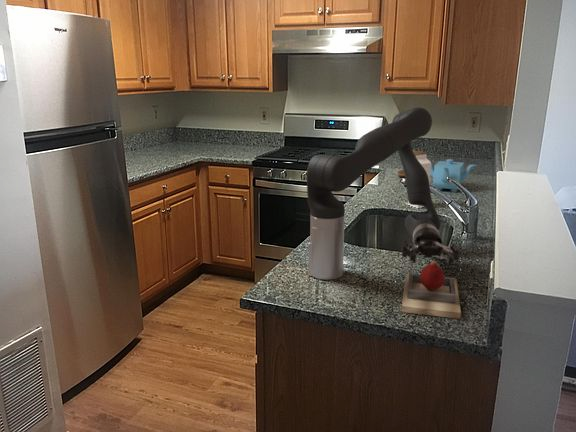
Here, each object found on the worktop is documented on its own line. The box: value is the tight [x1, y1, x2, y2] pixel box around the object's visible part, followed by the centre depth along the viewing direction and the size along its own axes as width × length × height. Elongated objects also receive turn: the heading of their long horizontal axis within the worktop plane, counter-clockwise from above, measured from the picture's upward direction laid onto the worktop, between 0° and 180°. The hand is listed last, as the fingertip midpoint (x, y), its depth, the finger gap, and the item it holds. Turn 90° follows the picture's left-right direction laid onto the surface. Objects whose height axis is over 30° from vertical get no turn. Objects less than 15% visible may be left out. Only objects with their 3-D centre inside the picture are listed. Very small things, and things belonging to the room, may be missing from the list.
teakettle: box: [430, 158, 477, 193], centre depth 232 cm, size 19×19×15 cm
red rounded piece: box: [419, 260, 446, 291], centre depth 118 cm, size 6×6×8 cm
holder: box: [401, 273, 462, 320], centre depth 119 cm, size 13×20×4 cm, turn 164°
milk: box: [407, 153, 432, 209], centre depth 201 cm, size 6×6×22 cm
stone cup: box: [397, 149, 426, 178], centre depth 263 cm, size 15×12×15 cm
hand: (432, 260), depth 119 cm, fingers open, 8 cm apart
